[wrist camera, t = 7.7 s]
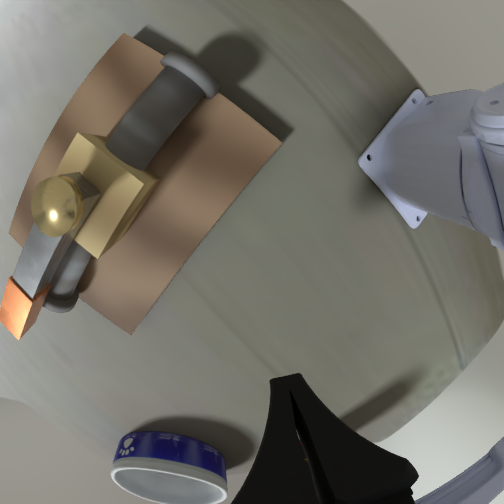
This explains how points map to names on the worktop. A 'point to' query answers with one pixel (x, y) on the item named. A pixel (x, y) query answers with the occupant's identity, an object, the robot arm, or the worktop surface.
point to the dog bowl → (170, 469)
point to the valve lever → (45, 246)
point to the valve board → (178, 199)
